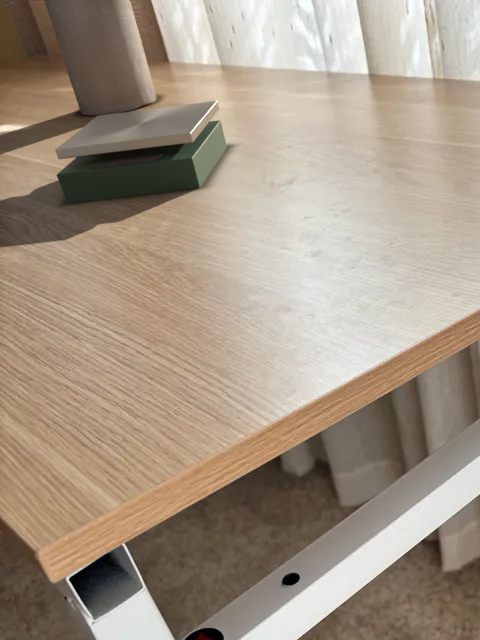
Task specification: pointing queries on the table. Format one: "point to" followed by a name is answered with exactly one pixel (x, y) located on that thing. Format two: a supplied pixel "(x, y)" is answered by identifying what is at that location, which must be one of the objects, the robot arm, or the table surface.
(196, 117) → the pan
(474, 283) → the table surface
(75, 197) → the scale
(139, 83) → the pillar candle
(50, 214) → the table surface
